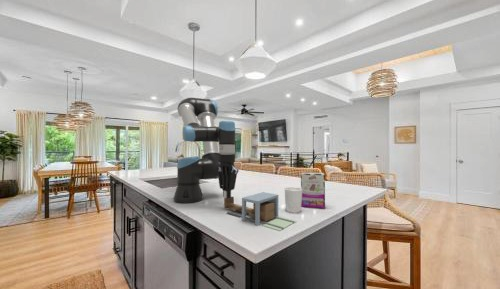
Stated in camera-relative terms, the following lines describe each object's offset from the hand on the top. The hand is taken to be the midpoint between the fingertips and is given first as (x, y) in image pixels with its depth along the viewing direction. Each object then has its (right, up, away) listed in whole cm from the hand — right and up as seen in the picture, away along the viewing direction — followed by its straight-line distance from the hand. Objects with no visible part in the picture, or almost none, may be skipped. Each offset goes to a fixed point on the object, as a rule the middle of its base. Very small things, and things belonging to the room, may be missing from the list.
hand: (226, 204), depth 101 cm
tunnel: (+15, -2, -13) cm, 20 cm away
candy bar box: (+41, -3, +5) cm, 42 cm away
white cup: (+31, -3, -2) cm, 31 cm away
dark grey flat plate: (+7, -2, -5) cm, 9 cm away
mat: (+22, -2, -19) cm, 29 cm away
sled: (+10, -2, -8) cm, 13 cm away
